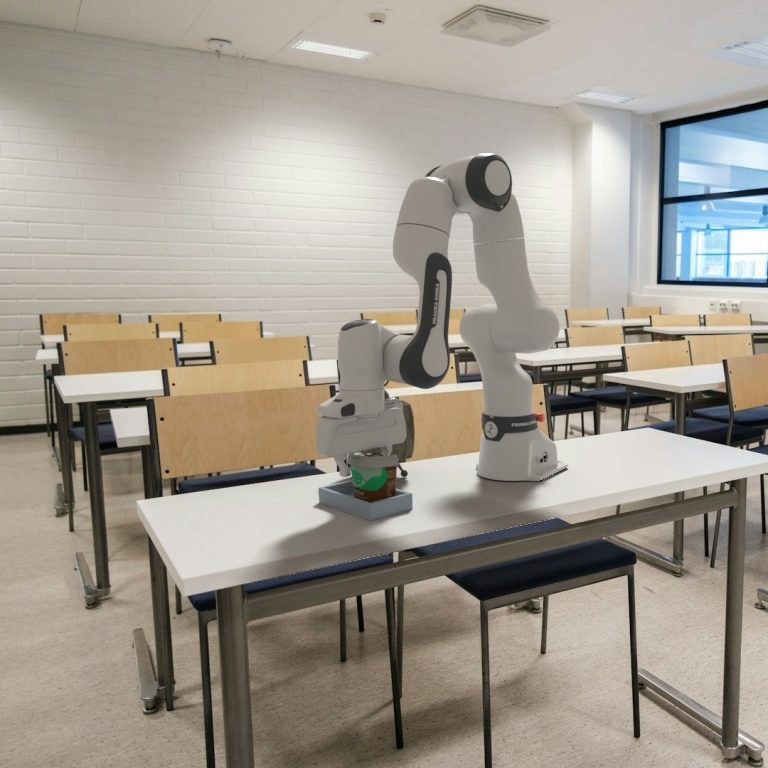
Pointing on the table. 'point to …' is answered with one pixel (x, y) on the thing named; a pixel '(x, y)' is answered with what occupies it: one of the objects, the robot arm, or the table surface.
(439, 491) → the table surface
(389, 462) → the food container
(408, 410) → the tabletop clock
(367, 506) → the holder tray
